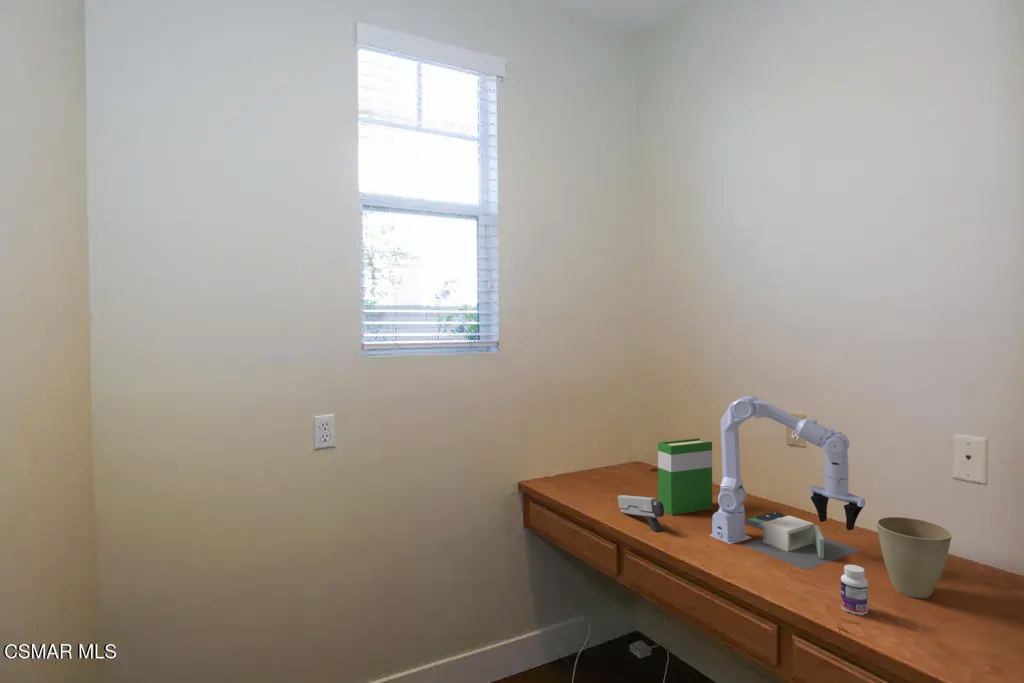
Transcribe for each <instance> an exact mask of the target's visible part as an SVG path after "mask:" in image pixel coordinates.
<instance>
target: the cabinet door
mask: <svg viewBox="0 0 1024 683" xmlns="http://www.w3.org/2000/svg"><path fill="white" fill-rule="evenodd" d="M823 537H824V536H823V534H822V531H821V529H820V527H819V525H818V524H817V525H816V524H814V544H815V547H816V550H817V552H818V555H819V558H821V559H824V550H827V546H825V545H824V538H825V537H824V538H823Z"/></svg>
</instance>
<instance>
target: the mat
mask: <svg viewBox="0 0 1024 683" xmlns="http://www.w3.org/2000/svg"><path fill="white" fill-rule="evenodd" d="M823 538H824V545H825V546H827V550H824V559H821V558H819V555H818V552H817V550H816V547H815V544H814V543H813V544H810V545H807V546H803V547H800V548H797V549H794V550H791V551H785V550H782V549H780V548H777V547H774V546H772V545H769V544H767V543H764V542H763V538H760V539H757V540H753V541H749V542H746V543H743V544H741V545H742V546H744V547H746V548H749V549H751V550H755V551H756V552H759V553H760V554H761V553H762V554H764V555H766V556H769V557H770V558H774V559H776V560H778V561H781V562H784V563H786V564H789V565H791V566H794V567H796V568H799V569H801V570H804V571H806V570H810V569H813V568H815V567H818V566H820V565H824V564H827V563H829V562H832V561H835V560H839V559H841V558H843V557H847V556H849V555H852V554H855V553H858V552H861V551H862V549H859V548H857V547H855V546H850V545H847V544H845V543H841V542H839V541H836V540H833V539H829V538H827V537H824V536H823Z"/></svg>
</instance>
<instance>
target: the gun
mask: <svg viewBox="0 0 1024 683" xmlns="http://www.w3.org/2000/svg"><path fill="white" fill-rule="evenodd" d="M617 502H618V508H619V510H620V513H621V512H622V514H627V515H634V516H640V517H645V518H646V520H647V522H648V524H649V527H650V529H651V530H652V531H654V532H660V531H662V527H661V524H660V523H659V520H658V518H661V517H664V516H665V512H664V506H663V504H662V502H661V501H658V497H657V498H656V497H647V496H639V495H638V496H636V495H625V494H622V495H621V494H620V495H617Z"/></svg>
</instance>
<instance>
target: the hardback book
mask: <svg viewBox="0 0 1024 683" xmlns="http://www.w3.org/2000/svg"><path fill="white" fill-rule="evenodd" d="M657 461H658V462H657V465H658V466H657V473H658V474H657V477H658V478H657V485H658V486H657V487H658V488H657V496H658V497H657V501H661V502H662V504H663V506H664V511H665V512H664V513H666V512H667V513H666V514H668V513H669V514H668V515H670V514H671V515H670V516H674V515H673V514H676V515H680V514H679V513H682V514H686V513H685V512H689V513H693V512H692V511H695V512H699V511H698V510H701V511H705V510H704V509H707V510H711V509H710V508H712V509H713V441H710V440H709V441H701V439H700V438H699V437H695V438H687V439H686V438H684V439H676V440H675V439H674V440H668V441H667V440H666V441H657Z"/></svg>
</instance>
